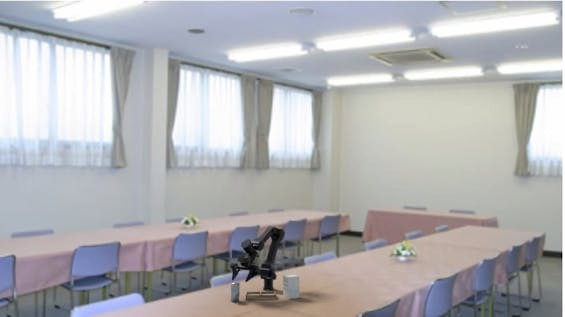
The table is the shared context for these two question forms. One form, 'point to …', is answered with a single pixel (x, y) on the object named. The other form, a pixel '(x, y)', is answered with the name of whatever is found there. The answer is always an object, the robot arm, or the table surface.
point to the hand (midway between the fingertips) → (239, 280)
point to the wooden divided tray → (260, 295)
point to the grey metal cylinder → (235, 291)
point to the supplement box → (291, 286)
